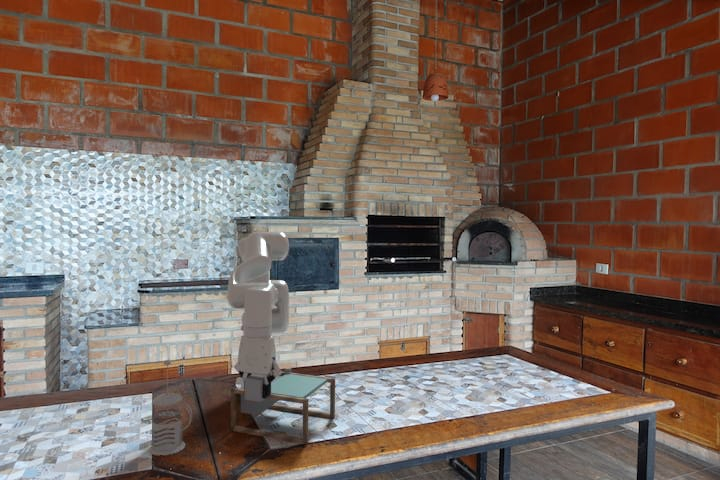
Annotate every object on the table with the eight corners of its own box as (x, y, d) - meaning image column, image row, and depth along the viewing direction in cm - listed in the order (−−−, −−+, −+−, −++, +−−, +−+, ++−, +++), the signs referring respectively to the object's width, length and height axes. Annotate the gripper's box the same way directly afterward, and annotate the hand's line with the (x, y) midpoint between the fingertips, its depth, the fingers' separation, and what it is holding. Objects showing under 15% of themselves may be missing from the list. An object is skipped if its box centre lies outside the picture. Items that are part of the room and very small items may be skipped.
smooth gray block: (244, 399, 132) (244, 378, 132) (254, 393, 137) (254, 372, 137) (260, 402, 131) (260, 380, 130) (269, 395, 135) (270, 374, 135)
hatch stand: (230, 430, 146) (230, 384, 146) (267, 406, 167) (267, 365, 166) (306, 444, 138) (306, 395, 137) (334, 417, 158) (335, 373, 157)
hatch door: (239, 413, 147) (239, 388, 147) (269, 393, 164) (270, 371, 164) (302, 423, 140) (302, 397, 140) (327, 402, 157) (327, 379, 156)
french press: (155, 439, 140) (155, 355, 139) (195, 438, 141) (196, 355, 140) (142, 456, 130) (142, 365, 129) (186, 454, 131) (186, 364, 130)
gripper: (223, 331, 132) (223, 395, 133) (278, 338, 126) (277, 405, 127) (239, 325, 139) (239, 386, 140) (291, 331, 133) (290, 395, 134)
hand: (257, 394), depth 134 cm, fingers closed on smooth gray block, 5 cm apart
